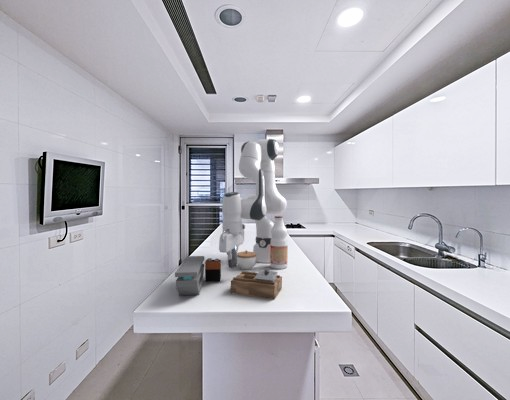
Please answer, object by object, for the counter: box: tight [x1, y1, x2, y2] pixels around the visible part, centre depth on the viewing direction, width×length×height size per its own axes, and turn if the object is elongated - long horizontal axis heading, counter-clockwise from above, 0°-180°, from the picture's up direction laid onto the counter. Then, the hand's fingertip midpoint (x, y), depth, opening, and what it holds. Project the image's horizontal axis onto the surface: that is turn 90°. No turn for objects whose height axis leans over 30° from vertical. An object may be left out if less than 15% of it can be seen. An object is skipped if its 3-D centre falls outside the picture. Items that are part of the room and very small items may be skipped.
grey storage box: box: [174, 255, 205, 296], centre depth 104 cm, size 25×8×11 cm, turn 5°
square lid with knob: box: [256, 269, 278, 282], centre depth 101 cm, size 7×7×4 cm
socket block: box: [230, 270, 283, 300], centre depth 103 cm, size 12×18×6 cm, turn 71°
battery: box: [204, 257, 222, 283], centre depth 115 cm, size 4×7×10 cm, turn 93°
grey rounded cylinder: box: [227, 245, 238, 269], centre depth 116 cm, size 4×4×10 cm
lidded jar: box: [237, 249, 256, 270], centre depth 135 cm, size 11×11×9 cm
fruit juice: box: [269, 215, 289, 270], centre depth 138 cm, size 9×9×28 cm
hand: (232, 257), depth 116 cm, fingers closed on grey rounded cylinder, 4 cm apart
